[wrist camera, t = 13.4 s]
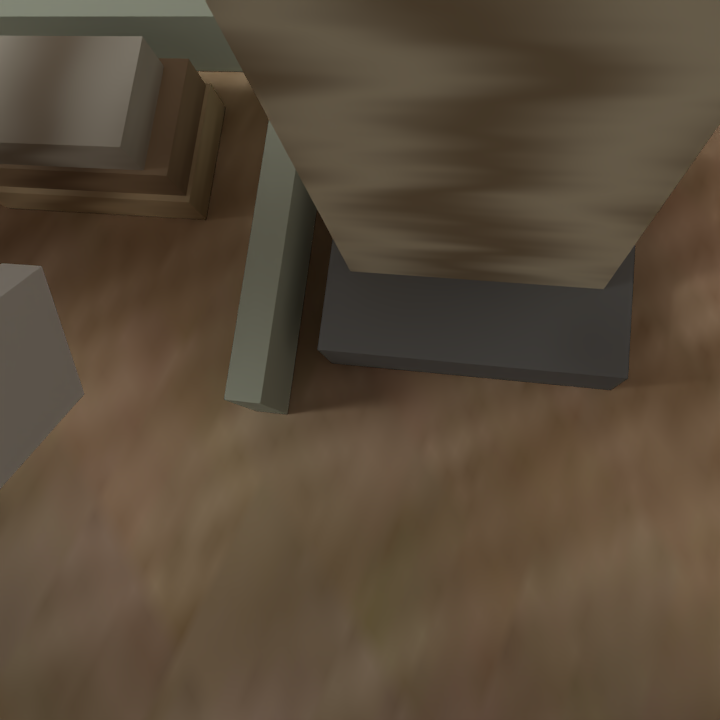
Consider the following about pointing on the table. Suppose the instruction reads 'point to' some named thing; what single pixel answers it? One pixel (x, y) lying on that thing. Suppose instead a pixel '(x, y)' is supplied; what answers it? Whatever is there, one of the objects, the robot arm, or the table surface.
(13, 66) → the offcut stack
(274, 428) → the table surface
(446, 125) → the birch block
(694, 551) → the table surface
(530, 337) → the rubber block
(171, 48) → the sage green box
